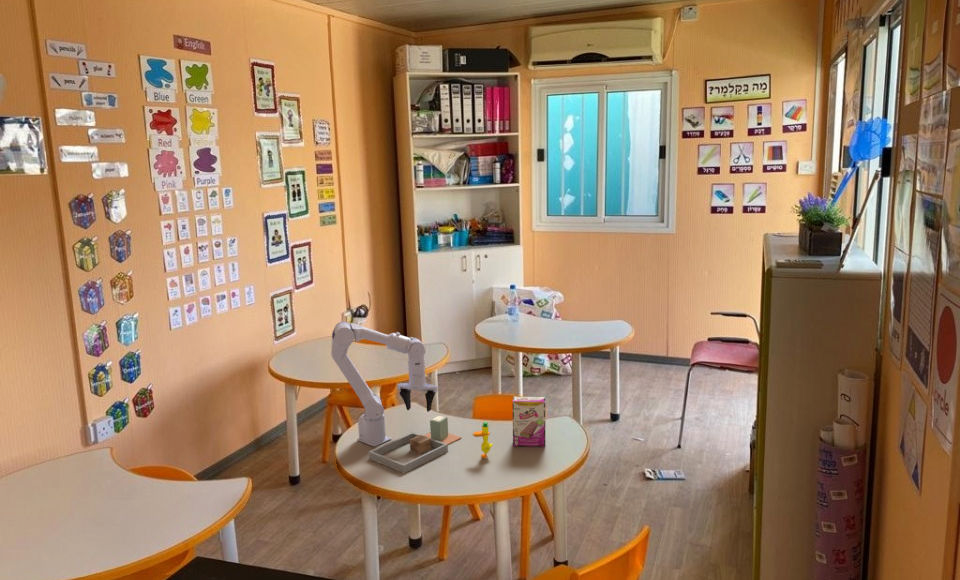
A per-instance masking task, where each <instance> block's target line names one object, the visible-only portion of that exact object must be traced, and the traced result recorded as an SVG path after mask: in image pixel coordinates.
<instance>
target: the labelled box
mask: <svg viewBox="0 0 960 580" xmlns="http://www.w3.org/2000/svg"><path fill="white" fill-rule="evenodd" d="M448 423H449V422H448V417H447V416H442V415H436V416H435V417H433V418H431V419H430V420H429V424H430V427H429V428H430V432H431V439H434V440H437V441H442V440H443V439H445V438H446V437H448V433H449V424H448Z"/></svg>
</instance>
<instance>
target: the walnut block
mask: <svg viewBox="0 0 960 580" xmlns="http://www.w3.org/2000/svg"><path fill="white" fill-rule="evenodd" d="M423 435H424V434H423ZM423 435H422V434H419V435H418V436H416V437H414V438H412V439H410V442H409V449H410V451H412V452H414V453H417V454H419V453H420V455H421V453H422V454H423V452H424V453H425V452H426V453H427V452H428V451H430V450H431V449H432V447H431V438H429V437H426V436H423ZM429 449H430V450H429ZM427 450H428V451H427Z"/></svg>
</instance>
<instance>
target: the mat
mask: <svg viewBox="0 0 960 580" xmlns="http://www.w3.org/2000/svg"><path fill="white" fill-rule="evenodd" d="M423 436H426V437H429V438H431V431H430V432H428V433H425V434H423ZM461 439H462V437H461V436H459V435H455V434H452V433H450V432H448V437H446V438H445V439H443V440H442V441H440V442H442V443H445V444H448V446H449V445H450V444H453V443H456V442H457V441H459V440H461Z"/></svg>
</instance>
